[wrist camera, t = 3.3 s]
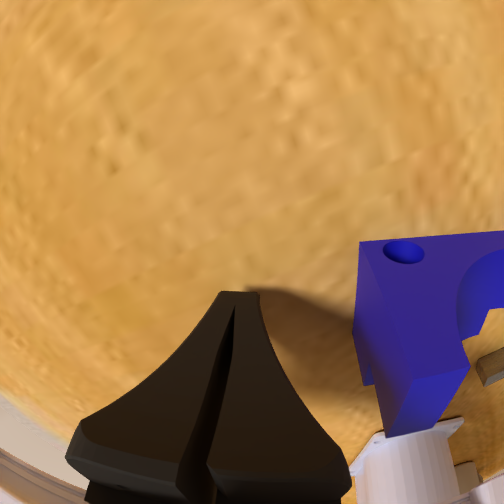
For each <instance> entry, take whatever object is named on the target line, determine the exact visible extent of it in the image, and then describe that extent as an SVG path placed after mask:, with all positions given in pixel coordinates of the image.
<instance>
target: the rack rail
mask: <svg viewBox="0 0 504 504" xmlns="http://www.w3.org/2000/svg"><path fill="white" fill-rule="evenodd" d="M476 371H477V373H478V375H479V377H480V379H481V382H482V384H483V386H484V387H485V386H488V385H490V384H492V383H494V382H496V381H498V380H500V379H502V378H504V348H502V349H500V350H498V351H496V352H493V353H491V354H489V355H487V356H485V357H482V358H480V359H478V362H477V366H476Z"/></svg>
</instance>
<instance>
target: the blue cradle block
mask: <svg viewBox="0 0 504 504" xmlns="http://www.w3.org/2000/svg"><path fill="white" fill-rule="evenodd" d="M496 308H504V231H491V232H478V233H465V234H452V235H439V236H427V237H414V238H401V239H389V240H376V241H363V242H359V261H358V277H357V290H356V301H355V312H354V322H353V331H352V335H353V339H354V343H355V348H356V352H357V357H358V361H359V366H360V371H361V376H362V381H363V386H367V385H374V384H375V389H376V393H377V398H378V402H379V407H380V412H381V417H382V422H383V427H384V433H385V438H392V437H397V436H402V435H406V434H411V433H415V432H419V431H423V430H427V429H431V428H433V427H434V425H435V424H436V422H437V421H438V419H439V418H440V416H441V415H442V413H443V412H444V410H445V409H446V407H447V406H448V404H449V403H450V401H451V399H452V398H453V396H454V395H455V393H456V391H457V390H458V388H459V386H460V385H461V383H462V381H463V379H464V378H465V376H466V374H467V372H468V370H469V369H470V367H471V366H470V363H469V361H468V358H467V356H466V354H465V351H464V348H463V345H462V342H461V341H462V340H465V339H467V338H469V337H472V336H475V335H479V332H480V330H481V328H482V325H483V323H484V321H485V318H486V316H487V313H488V311H489V309H496Z"/></svg>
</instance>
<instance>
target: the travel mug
mask: <svg viewBox="0 0 504 504" xmlns="http://www.w3.org/2000/svg"><path fill="white" fill-rule="evenodd" d="M454 468H455V472H456V477H457V481H458V486H459V491H460V495H462V494H464V493H467V492H469V491H471V490H472V489H473V488H475V487H476V486H478V485H480V482H479V478H478V474H477V470H476V466H475V463H474V462H466V463H462V464H459V465H456V466H454Z"/></svg>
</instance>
